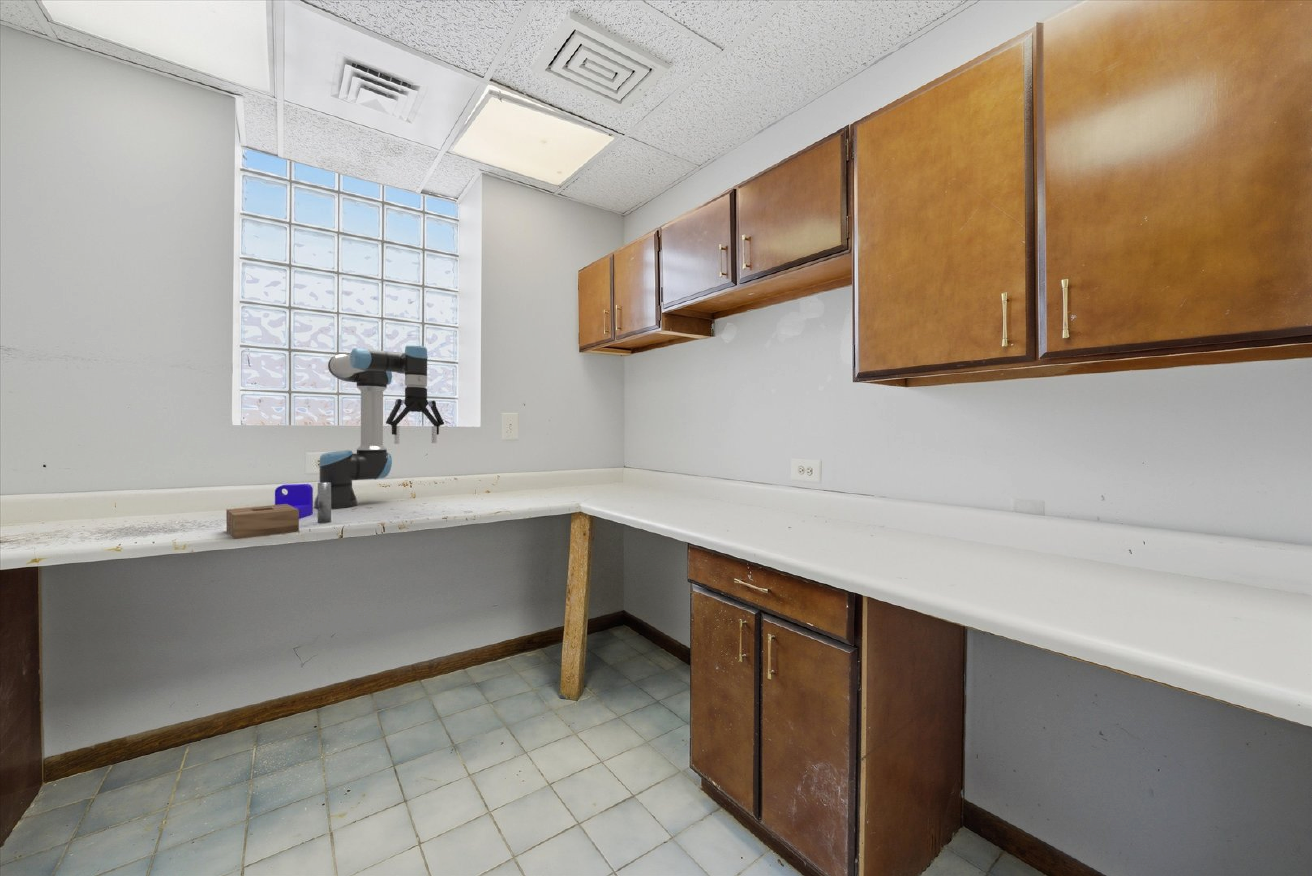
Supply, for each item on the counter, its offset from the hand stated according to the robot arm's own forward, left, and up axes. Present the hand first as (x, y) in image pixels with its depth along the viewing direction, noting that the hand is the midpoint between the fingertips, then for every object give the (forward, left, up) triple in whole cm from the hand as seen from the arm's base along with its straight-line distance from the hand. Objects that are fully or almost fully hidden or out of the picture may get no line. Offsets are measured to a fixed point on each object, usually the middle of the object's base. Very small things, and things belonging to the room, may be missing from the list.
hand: (415, 443), depth 185 cm
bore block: (-9, -44, -28) cm, 53 cm away
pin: (-13, -26, -28) cm, 41 cm away
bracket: (-29, -33, -28) cm, 52 cm away
